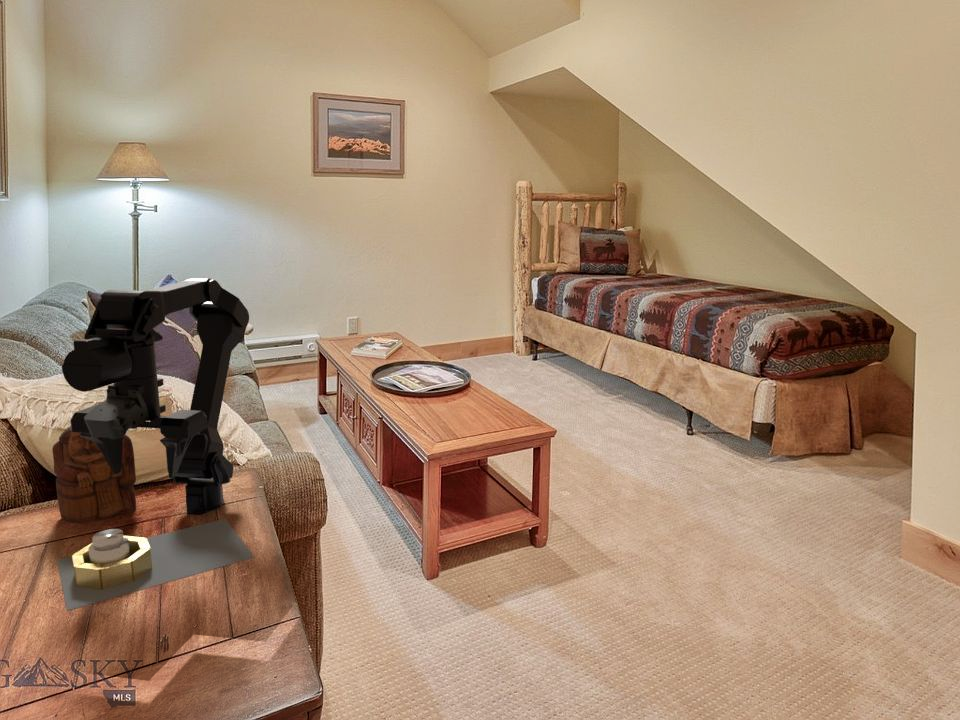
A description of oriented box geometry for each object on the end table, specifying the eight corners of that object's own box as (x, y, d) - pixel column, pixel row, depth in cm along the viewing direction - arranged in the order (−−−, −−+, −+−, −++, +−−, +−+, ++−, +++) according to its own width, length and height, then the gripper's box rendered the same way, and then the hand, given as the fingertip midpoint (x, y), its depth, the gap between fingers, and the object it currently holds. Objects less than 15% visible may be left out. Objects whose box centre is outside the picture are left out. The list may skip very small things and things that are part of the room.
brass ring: (108, 552, 97) (106, 533, 96) (164, 557, 96) (162, 539, 95) (58, 585, 88) (56, 565, 87) (120, 592, 86) (117, 571, 86)
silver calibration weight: (108, 560, 95) (104, 525, 94) (139, 563, 94) (135, 528, 93) (82, 577, 90) (78, 541, 89) (115, 581, 89) (111, 544, 88)
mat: (225, 527, 109) (224, 518, 109) (255, 566, 96) (254, 557, 96) (58, 568, 95) (57, 559, 95) (68, 621, 82) (66, 610, 82)
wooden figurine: (60, 536, 105) (47, 432, 101) (60, 521, 110) (48, 421, 107) (141, 520, 111) (131, 421, 108) (137, 507, 116) (128, 412, 113)
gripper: (34, 385, 87) (47, 491, 91) (159, 391, 85) (168, 501, 88) (93, 368, 98) (103, 464, 101) (205, 373, 96) (213, 472, 99)
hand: (144, 475), depth 97 cm, fingers open, 9 cm apart
